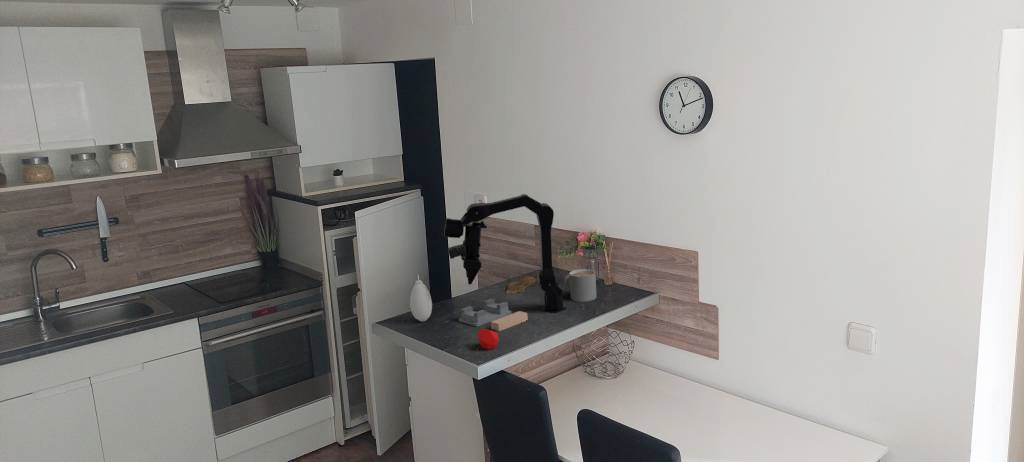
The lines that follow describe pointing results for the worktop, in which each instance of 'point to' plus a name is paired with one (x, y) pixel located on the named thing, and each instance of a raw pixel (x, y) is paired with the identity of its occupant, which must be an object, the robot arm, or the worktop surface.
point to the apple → (488, 339)
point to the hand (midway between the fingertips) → (468, 280)
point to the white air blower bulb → (420, 301)
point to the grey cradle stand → (484, 313)
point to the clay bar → (509, 321)
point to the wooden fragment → (520, 285)
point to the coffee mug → (582, 285)
